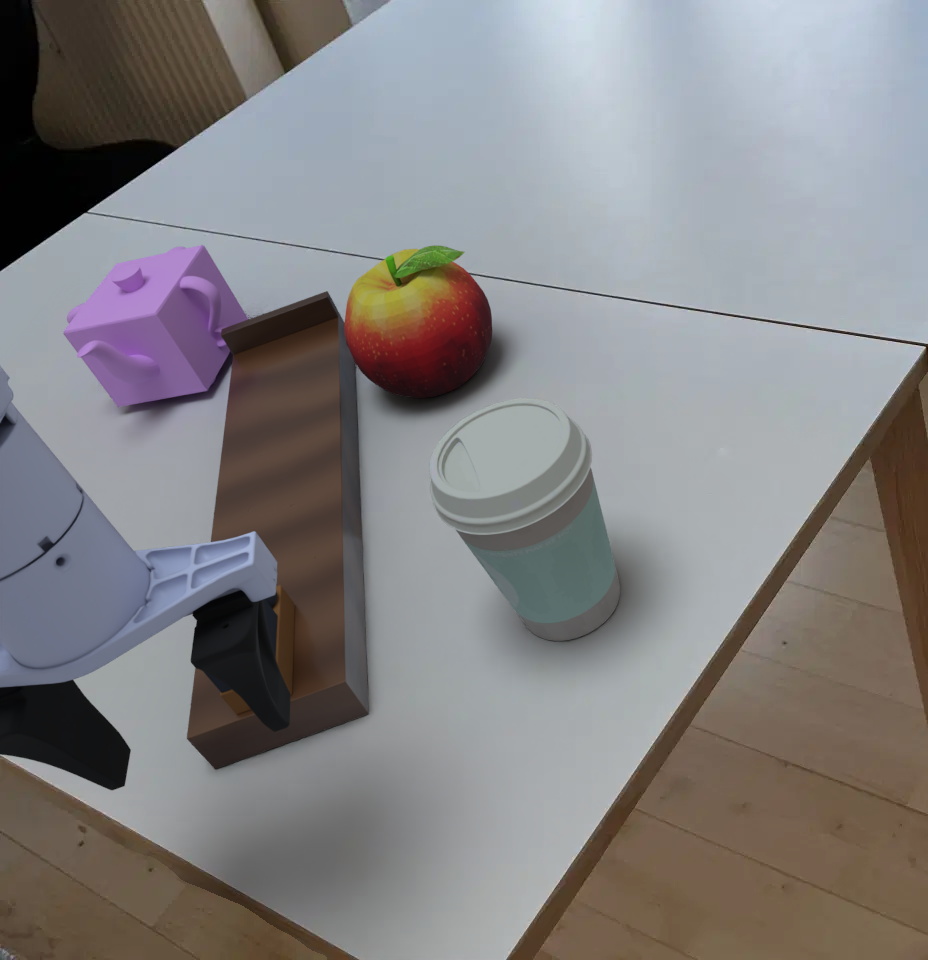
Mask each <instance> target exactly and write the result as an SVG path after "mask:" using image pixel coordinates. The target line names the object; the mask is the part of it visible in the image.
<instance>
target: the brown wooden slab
mask: <svg viewBox="0 0 928 960" xmlns="http://www.w3.org/2000/svg"><path fill="white" fill-rule="evenodd" d="M344 323H345V320H344V319H343V317H342V316H341V313H340V312H339V310H338V308H337V305H336V304H335V301H334V300H333V298H332V296H331V294H330V293H329V291H327V290H326V291H323V292H320V293H318V294H315V295H312V296H309V297H306V298H304V299H301V300H298V301H296V302H293V303H290V304H287V305H285V306H282V307H279V308H276V309H274V310H271V311H268V312H265V313H262V314H259V315H257V316H254V317H252V318H248V320H246V321H243V322H240V323H237V324H235V325H232V326H229V327H226V328H223V329H222V330H221V337H222V338H223V340H224V341H225V343H226V345H227V346H228V348H229V349H230V353H231V354H232V363H231V370H230V378H229V387H228V394H227V395H228V396H227V404H226V410H225V411H226V413H225V421H224V429H223V436H222V443H221V444H222V447H221V452H220V453H221V454H220V460H219V461H220V462H219V469H218V476H217V477H218V478H217V487H216V494H215V502H214V511H213V518H212V520H213V521H212V526H211V534H210V542H216V541H222V540H226V539H231V538H235V537H238V536H241V535H245V534H248V533H251V532H254V531H255V532H256V533H257V534H258V536H259V537H260V538H261V540H262V541H263V543H264V544H265V546H266V547H267V548H268V550H269V551H270V553H271V554H272V555H273V557H274V558H275V560H276V561H277V584H276V586H278V585H281V586H282V587H283V589H284V590H285V591H286V593H287V594H288V596H289V597H290V598H291V600H292V601H293V603H294V604H295V615H294V648H293V681H292V695H291V697H290V725H289V726H288V727H287V728H285V729H282V730H279V731H276V732H274V731H272V730H271V729H269V728H268V727H267V726H265V725H264V724H263V723H262V722H261V721H260V719H259V718H258V717H257V716H256V715H255V713H254V712H253V711H252V710H249V711H246V712H243V713H240V714H236V713H235V712H234V711H233V710H232V709H231V708H230V706H229V705H228V704H227V703H226V702H225V701H224V699H223V698H222V697H221V696H220V691H219V690H218V688H217V687H216V686H215V685H214V684H213V682H212V681H211V680H210V679H209V678H208V677H207V675H206V674H205V673H204V672H203V671H202V670H199V669H197V668H195V667H194V674H193V675H194V676H193V683H192V691H191V701H190V708H189V716H188V724H187V733H186V740H187V741H188V742H189V744H191V745H192V746H193V747H194V748H195V750H196V751H197V752H198V753H199V754H200V755H201V756H202V757H203V758H204V759H205V761H207V762H208V764H209V765H210V766H211V767H212V768H213V769H214V770H217V769H219V768H222V767H226V766H228V765H231V764H234V763H236V762H239V761H242V760H245V759H248V758H250V757H254V756H256V755H259V754H260V753H261V754H262V753H264V752H267V751H270V750H273V749H275V748H279V747H281V746H284V745H287V744H290V743H292V742H294V741H297V740H300V739H303V738H306V737H309V736H312V735H315V734H318V733H320V732H322V731H325V730H328V729H331V728H333V727H336V726H339V725H342V724H345V723H347V722H351V721H353V720H357V719H358V718H361V717H364V716H367V715H369V714H370V713H369V712H370V711H369V693H368V691H369V688H368V666H367V665H368V664H367V662H368V661H367V639H366V613H365V588H364V587H365V584H364V564H363V563H364V562H363V561H364V560H363V537H362V536H363V535H362V534H363V533H362V510H361V508H362V507H361V506H362V505H361V486H360V485H361V484H360V483H361V482H360V458H359V457H360V456H359V455H360V454H359V432H358V431H359V430H358V405H357V404H358V403H357V382H356V363H355V361H354V359H353V357H352V355H351V353H350V350H349V348H348V346H347V343H346V338H345V330H344Z"/></svg>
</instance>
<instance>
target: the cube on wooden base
mask: <svg viewBox="0 0 928 960" xmlns="http://www.w3.org/2000/svg"><path fill="white" fill-rule="evenodd" d="M264 607H265V615H266V621H267V627H268V632H269V637H270V641H271V645H272V649H273V652H274V655H275V659H276V662H277V664H278V667H279V670H280V672H281V675H282V677H283V679H284V682H285V684H286V686H287V688H288V690H289V692H290V694H291V695H292V681H293V648H294V615H295V604H294V603H293V601H292V600H291V598H290V597H289V596H288V594H287V593H286V591H285V590H284V589H283V587H282V586H281V585H278V586H276V594H275V595H274V596H271V597H268V598H265V599H264ZM196 625H197V621H196V623H195V626H196ZM203 672H204V671H203ZM204 673H205V674H206V675H207V677H208V678H209V679H210V680H211V681H212V682H213V684H214V685H215V686H216V687H217V688H218V690H219V691H220V696H221V697H222V698H223V699H224V701H225V702H226V703H227V704H228V705H229V706H230V708H231V709H232V710H233V711H234V712H235V713H236V714H240V713H243V712H246V711H249V710H251V708H250V707H249V706H248V705H247V704H246V702H245V701H244V700H243V699H242V698H241V697H240V696H239V695H238V694H237V693H236V692H235V691H233V690H232V689H231V688H230V687H228V686H227V685H226V684H224V683H223V682H222V681H220V680H219V679H217V678H215V677H214V676H212V675H210V674H208V673H206V672H204Z"/></svg>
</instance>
